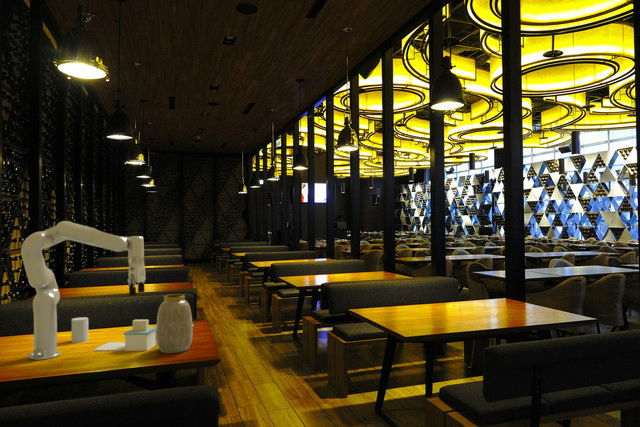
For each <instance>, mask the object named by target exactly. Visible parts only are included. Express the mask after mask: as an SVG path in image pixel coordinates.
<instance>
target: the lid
mask: <svg viewBox="0 0 640 427" xmlns="http://www.w3.org/2000/svg"><path fill="white" fill-rule="evenodd" d="M149 323H150V320H149V319H133V320H132V328H131V329H128V330H127V331H125V332H123V336H124V335H148V334H150V333H151V332H153V331H155V330H156V329H157V326H152V327H149Z"/></svg>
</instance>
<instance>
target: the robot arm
mask: <svg viewBox="0 0 640 427" xmlns="http://www.w3.org/2000/svg"><path fill="white" fill-rule="evenodd" d="M144 239H145V238H144V237H143V236H142V235H141V236H140V235H134V236H121V235H120V236H119V235H115V234H111V233H108V232H104V231H101V230H98V229H96V228H94V227H91V226H87V225H83V224H80V223H75V222H72V221H69V220H63V221H59V222H58V223H57V224H56V225H55V226H52V227H50V228H48V229H45V230H43V231H36V232H33V233H32V234H30V235H29V236H27V237H26V239H25V240H24V241H23V242H22V245H21V247H20V254H21V258H22V261H23V262H22V263H23V266H24V269H25V273H26V277H27V279H28V280H27V281H28V284H29V285H30V286H31V287H32V288H34V289H35V292H36V294H35V296H34V298H33V300H32V311H33V349H32V352H30V353H28V358H29V359H30V360H34V361H35V360H36V361H38V360H39V361H41V360H49V359H54V358H56V357H59V356H60V355H61V354H62V353H61V351H60V350H58V321H57V320H58V313H57V312H58V311H57V304H58V303H59V301H60V299H61V294H60V289H59V286H58V284H57V281H56V276H55V274H54V272H53V271H52V270H51V269H50V268H48V267H47V264H46V262H45V261H46V260H45V258H44V255H43V250H44V249H48V248H50V247H52V246H55V245H58V244H59V243H62V242H65V241H66V240H68V241H73V242H77V243H81V244H84V245H89V246H92V247H98V248H101V249H105V250H110V251H113V252H123V251H127V252H128V254H127V257H128V258H127V259H128V278H127V284H128V290H129V291H128V292H129V293H128V294H129V296H136V295H137V292H138V293H145V282H146V266H145V246H144V245H145V242H144ZM136 284H137V287H136Z"/></svg>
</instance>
